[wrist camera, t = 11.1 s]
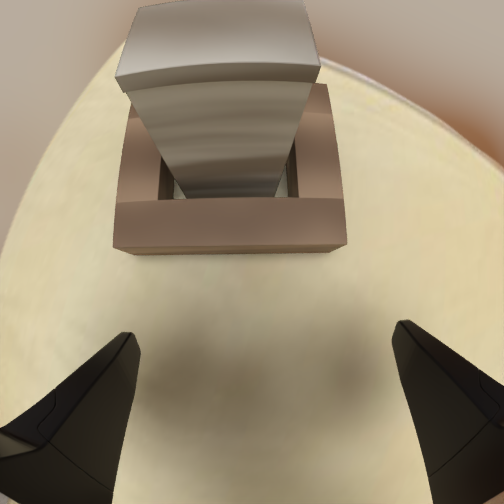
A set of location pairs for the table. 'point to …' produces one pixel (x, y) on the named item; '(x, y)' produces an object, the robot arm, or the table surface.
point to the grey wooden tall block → (221, 89)
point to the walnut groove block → (234, 199)
